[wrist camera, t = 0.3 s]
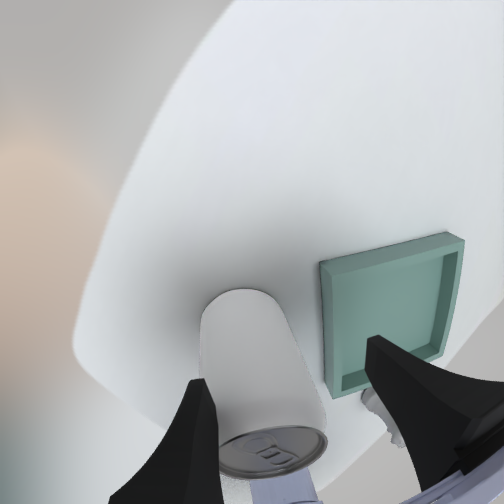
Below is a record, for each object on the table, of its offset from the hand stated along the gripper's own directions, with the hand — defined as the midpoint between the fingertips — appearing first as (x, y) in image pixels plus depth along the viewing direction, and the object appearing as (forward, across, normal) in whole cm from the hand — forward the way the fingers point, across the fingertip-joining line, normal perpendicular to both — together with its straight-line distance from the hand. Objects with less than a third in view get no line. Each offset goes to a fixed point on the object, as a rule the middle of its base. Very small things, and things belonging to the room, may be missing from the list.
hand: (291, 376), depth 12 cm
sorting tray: (+10, -11, +6) cm, 16 cm away
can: (+10, +2, +3) cm, 11 cm away
